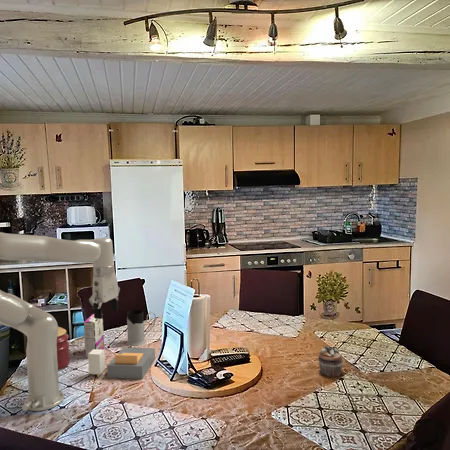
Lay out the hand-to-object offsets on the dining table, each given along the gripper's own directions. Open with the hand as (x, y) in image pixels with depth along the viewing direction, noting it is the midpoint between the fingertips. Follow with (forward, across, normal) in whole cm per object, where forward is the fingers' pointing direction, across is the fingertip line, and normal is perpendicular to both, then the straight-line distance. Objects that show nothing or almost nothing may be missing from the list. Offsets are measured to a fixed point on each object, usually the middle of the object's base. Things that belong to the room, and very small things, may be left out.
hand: (106, 314), depth 154 cm
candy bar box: (+26, +18, +22) cm, 38 cm away
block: (+25, 0, +6) cm, 26 cm away
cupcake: (+27, +33, -80) cm, 91 cm away
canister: (+25, +1, +30) cm, 39 cm away
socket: (+26, +10, -3) cm, 28 cm away
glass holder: (+26, +37, +9) cm, 46 cm away
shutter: (+21, +7, -4) cm, 22 cm away
